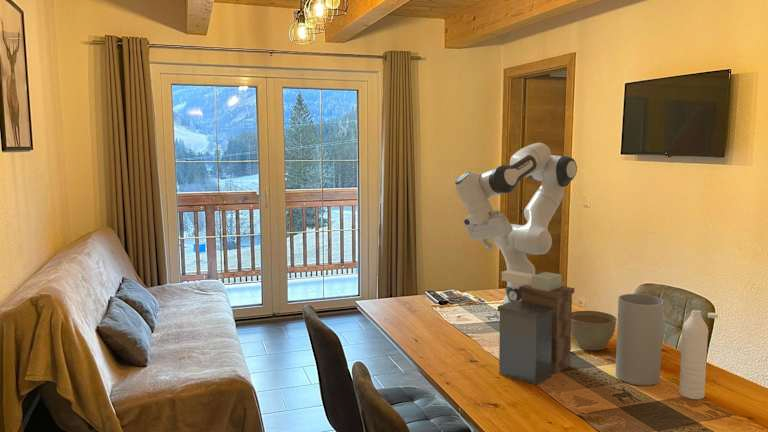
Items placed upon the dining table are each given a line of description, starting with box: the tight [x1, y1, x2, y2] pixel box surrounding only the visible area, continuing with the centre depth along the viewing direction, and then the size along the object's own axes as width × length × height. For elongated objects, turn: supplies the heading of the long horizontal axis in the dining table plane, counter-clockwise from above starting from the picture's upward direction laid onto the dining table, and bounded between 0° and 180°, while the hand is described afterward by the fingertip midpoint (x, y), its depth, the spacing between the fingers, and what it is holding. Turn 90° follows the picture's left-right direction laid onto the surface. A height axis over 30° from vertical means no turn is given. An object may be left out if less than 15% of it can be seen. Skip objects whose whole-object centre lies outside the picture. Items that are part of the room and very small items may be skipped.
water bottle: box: [678, 309, 719, 400], centre depth 163 cm, size 9×6×25 cm
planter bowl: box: [571, 310, 618, 351], centre depth 204 cm, size 16×16×11 cm
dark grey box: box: [497, 300, 555, 386], centre depth 180 cm, size 10×14×22 cm
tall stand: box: [519, 285, 575, 375], centre depth 188 cm, size 10×14×26 cm
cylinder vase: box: [615, 293, 664, 386], centre depth 176 cm, size 12×12×25 cm
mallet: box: [500, 269, 563, 292], centre depth 190 cm, size 8×19×4 cm, turn 44°
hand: (498, 247), depth 213 cm, fingers open, 8 cm apart
